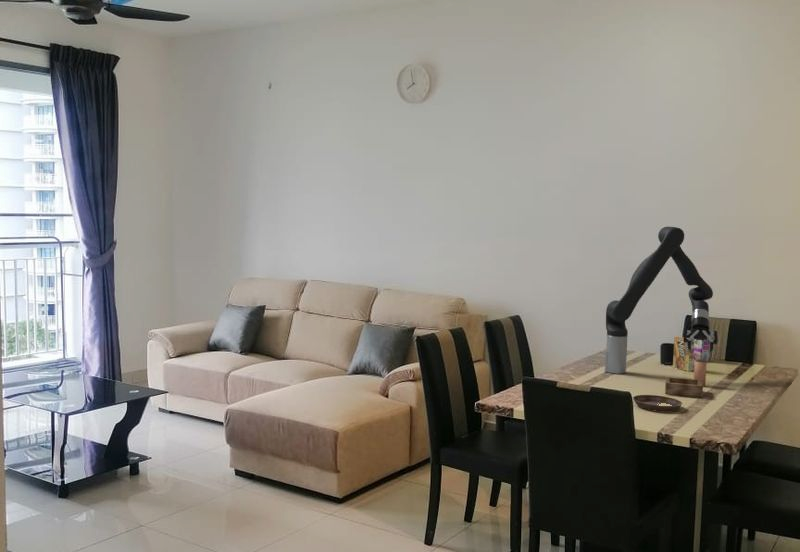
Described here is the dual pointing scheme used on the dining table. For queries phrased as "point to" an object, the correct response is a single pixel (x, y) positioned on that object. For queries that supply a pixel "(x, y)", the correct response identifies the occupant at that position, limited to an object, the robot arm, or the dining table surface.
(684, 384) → the bin
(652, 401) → the plant saucer
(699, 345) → the candy bar box
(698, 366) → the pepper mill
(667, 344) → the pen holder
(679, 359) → the candy box
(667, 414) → the dining table surface
